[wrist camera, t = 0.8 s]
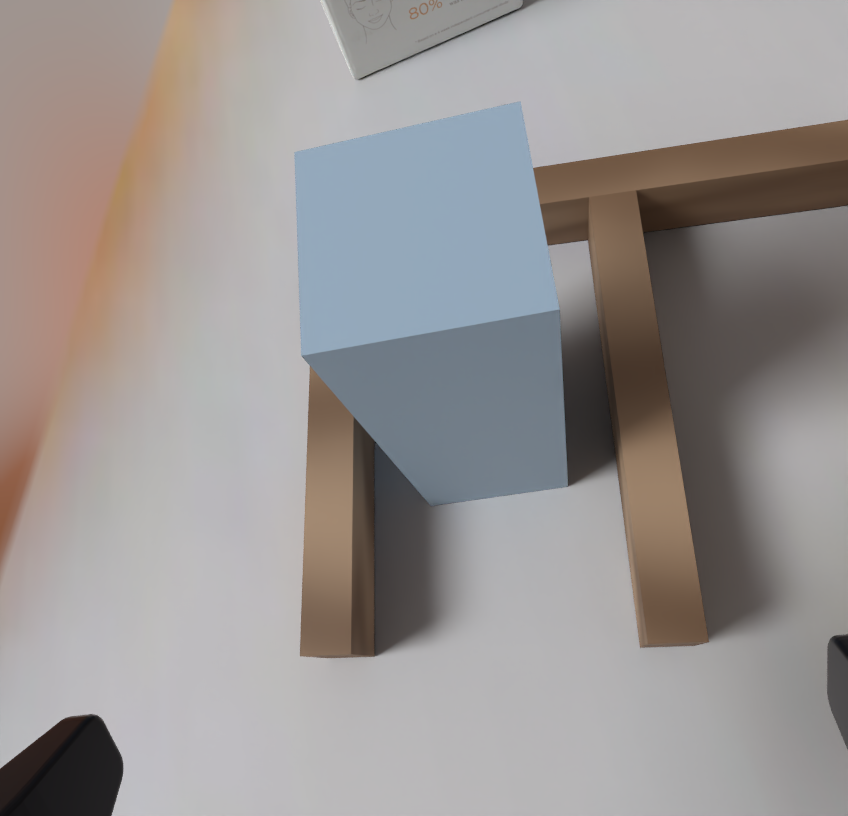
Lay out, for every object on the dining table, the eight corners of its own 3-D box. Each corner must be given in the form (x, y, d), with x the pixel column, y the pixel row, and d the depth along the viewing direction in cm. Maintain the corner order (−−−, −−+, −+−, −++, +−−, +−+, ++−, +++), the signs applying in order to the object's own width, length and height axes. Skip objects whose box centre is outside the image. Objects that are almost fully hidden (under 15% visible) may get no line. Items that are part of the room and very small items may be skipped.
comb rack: (1070, 633, 19) (1140, 627, 16) (328, 657, 22) (300, 656, 20) (911, 158, 24) (946, 105, 22) (337, 240, 28) (315, 201, 26)
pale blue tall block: (546, 360, 24) (520, 101, 13) (568, 486, 23) (559, 309, 12) (418, 381, 25) (294, 151, 14) (430, 506, 23) (301, 356, 12)
